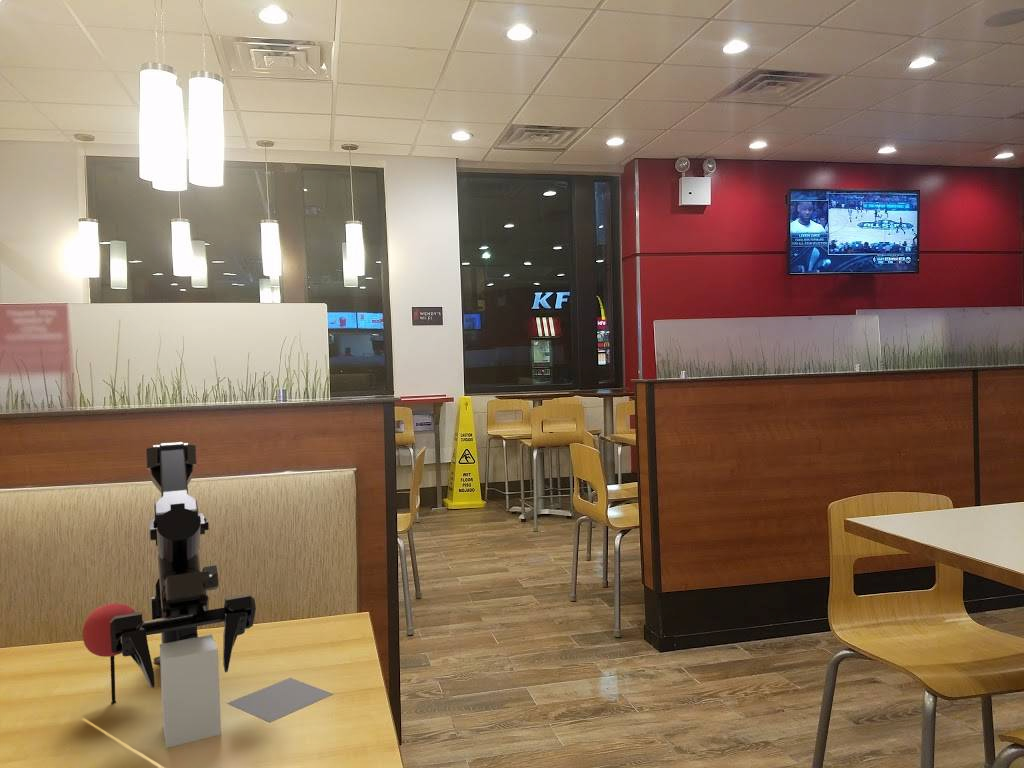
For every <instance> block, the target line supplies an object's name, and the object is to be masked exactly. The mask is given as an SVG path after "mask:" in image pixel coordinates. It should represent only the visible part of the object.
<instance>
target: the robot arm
mask: <svg viewBox="0 0 1024 768" xmlns="http://www.w3.org/2000/svg"><path fill="white" fill-rule="evenodd" d="M145 456H146V458H145V459H146V462H145V463H146V471H150V474H151V475H150V476H151V482H152V484H153V485H154V486H155V487H156V489H157V490H158V491H159V492H160V496H161V497H160V498H159V500H157V501H156V502H155V503H154V506H153V507H154V517H149V538H150V541H151V542H152V541H155V546H156V547H157V564H158V579H157V580H156V583H155V595H152V596H151V619H149V620H143V612H142V611H140V612H136V613H131V614H125V615H119V616H114V618H113V619H112V620H111V621H110V635H111V650H112V652H113V653H120V652H122V653H121V654H122V657H126V658H127V657H131V659H132V660H133V661H134V663H136V665H138V667H139V668H140V670H141V672H142V673H143V676H144V678H145V679H146V682H147V683H148V685H149V686H150V689H153V688H155V686H156V685H155V672H154V666H153V662H155V663H157V664H160V655H158V656H157V657H156V656H155V657H154V658H153V662H152V657H151V653H150V650H149V649H150V648H149V643H148V637H147V636H150V635H151V636H152V635H156V634H160V635H161V644H164V643H169V642H175V641H180V640H185V639H191V638H196V637H199V633H198V627H199V626H207V625H212V624H218V623H222V622H223V635H222V639H223V641H222V643H223V646H222V647H223V650H222V652H223V653H222V655H223V656H222V659H223V660H222V661H223V663H222V664H223V670H224V673H229V668H230V663H231V658H232V652H233V649H234V646H235V643H236V640H237V638H238V636H240V635H243V634H245V631H246V630H248V629H250V628H251V627H253V626H254V622H255V614H256V611H257V606H256V601H255V598H254V597H253V596H252V594H249V593H247V594H241V595H240V594H239V595H237V596H236V595H235V596H228V597H224V605H223V607H221V608H213V609H209V601H210V599H209V598H210V597H209V596H208V594H207V591H212V590H213V591H214V590H217V589H218V588H219V586H220V585H219V573H218V566H217V564H214V565H213V564H212V565H207V566H203V567H202V569H201V560H200V553H199V552H200V546H201V536H204V535H205V534H206V531H209V529H210V528H209V527H210V526H209V524H210V523H209V521H208V519H207V518H206V517H205V516H204V514H203V512H199V508H198V500H197V499H196V498H195V497H193V496H191V495H190V494H189V489H188V488H189V487H188V485H189V484H190V482H191V481H192V479H193V470H194V468H195V467H197V465H198V463H197V461H198V460H197V445H194V444H189V442H183V441H174V442H161V443H159V444H153V445H152V447H148V448H146V449H145ZM193 467H194V468H193Z"/></svg>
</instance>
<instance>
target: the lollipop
mask: <svg viewBox="0 0 1024 768" xmlns="http://www.w3.org/2000/svg"><path fill="white" fill-rule="evenodd" d="M131 613H137V612H136V611H135V609H134V608H132V607H131V606H130V605H127V604H125V603H117V602H115V603H108V604H104V605H102V606H100V607H97V608H95V609H94V610H92V612H91V613H90V614H89V615H88V617H86V620H85V621H84V624H83V627H82V642H83V644H84V646H85V647H86V649H87V650H88V651H89V652H90V653H91V654H92V655H95V656H98V657H104V658H105V657H108V658H110V659H109V661H110V684H111V685H110V688H111V690H110V691H111V692H110V693H111V702H110V703H111V704H115V703H117V701H116V671H115V665H116V664H115V656H118V655H120V654H122V652H120V653H113V652H112V650H111V635H110V621H111V620H112V619H113V618H114V616H119V615H125V614H131Z"/></svg>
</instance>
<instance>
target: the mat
mask: <svg viewBox="0 0 1024 768" xmlns="http://www.w3.org/2000/svg"><path fill="white" fill-rule="evenodd" d="M332 695H334V693H333V692H330V691H326V690H324V689H321V688H319V687H316V686H314V685H311V684H309V683H305V682H304V681H300V680H297V679H296V678H292V677H288V678H285V679H284V680H280V681H278V682H276V683H273V684H271V685H268V686H266V687H263V688H261V689H258V690H256V691H253V692H251V693H248V694H246V695H244V696H242V697H239V698H236V699H234V700H231V701H228V702H227V704H228V705H230V706H232V707H235V708H237V709H239V710H241V711H243V712H246V713H247V714H250V715H252V716H254V717H256V718H258V719H261V720H263V721H265V722H268V723H272V722H275V721H277V720H279V719H280V718H284V717H286V716H288V715H290V714H292V713H295V712H297V711H299V710H301V709H303V708H305V707H308V706H310V705H313V704H314V703H317V702H319V701H321V700H323V699H326V698H329V697H330V696H332Z"/></svg>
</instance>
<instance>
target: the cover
mask: <svg viewBox="0 0 1024 768" xmlns="http://www.w3.org/2000/svg"><path fill="white" fill-rule="evenodd" d="M159 656H160V684H161V685H160V686H161V690H160V691H161V711H162V715H161V716H162V730H163V736H164V742H165V743H164V745H165V749H168V748H172V747H176V746H180V745H185V744H189V743H192V742H195V741H200V740H204V739H207V738H213V737H216V736H220V735H222V723H221V722H222V721H221V697H220V696H221V695H220V672H219V648H218V646H217V644H216V641H215V638H214V636H213V634H208V635H203V636H198V637H196V638H191V639H185V640H180V641H175V642H169V643H164V644H162V643H160V644H159Z"/></svg>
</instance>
